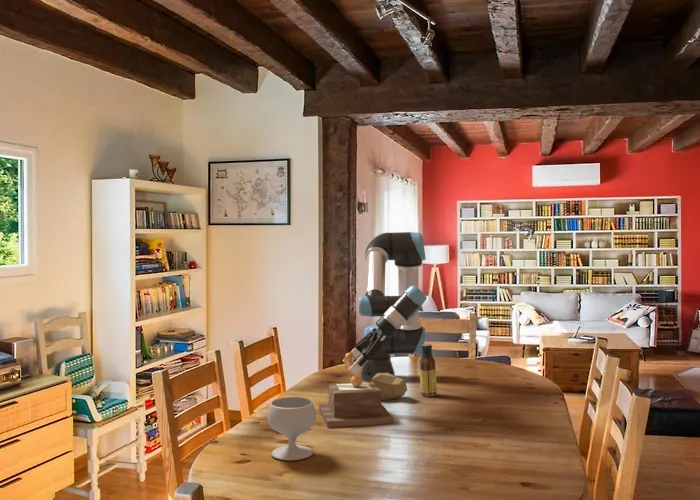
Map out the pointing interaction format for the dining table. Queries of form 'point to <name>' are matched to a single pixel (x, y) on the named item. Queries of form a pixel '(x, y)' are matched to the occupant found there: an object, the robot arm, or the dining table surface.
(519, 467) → the dining table surface
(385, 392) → the low-poly potato
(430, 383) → the sauce bottle
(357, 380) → the figurine
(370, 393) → the pedestal
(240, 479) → the dining table surface
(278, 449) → the chalice
